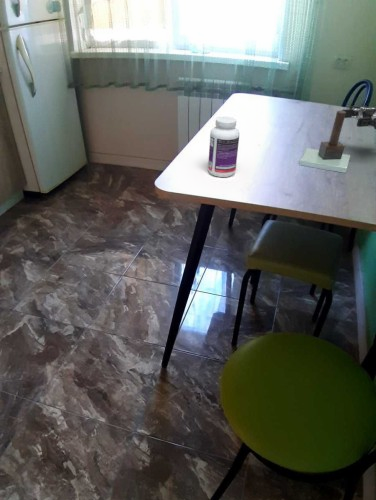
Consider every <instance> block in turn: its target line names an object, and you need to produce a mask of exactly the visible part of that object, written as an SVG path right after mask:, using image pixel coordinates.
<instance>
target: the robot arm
mask: <svg viewBox="0 0 376 500" xmlns="http://www.w3.org/2000/svg"><path fill="white" fill-rule="evenodd" d="M341 111H345V112H346V115H345V118H344V119H356V120H357V122H356V126H357V128H363V127H368V128H373V129H375V130H376V107H373V106H372V107H368V106H367V105H350V106H349V108H347V109H342V110H341Z"/></svg>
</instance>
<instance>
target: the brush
mask: <svg viewBox="0 0 376 500" xmlns="http://www.w3.org/2000/svg"><path fill="white" fill-rule="evenodd" d="M345 115H346V112H345V111H342V110H337V111H336V113H335V117H334V120H333V125H332V129H331V133H330V137H329V140H328V141H321V142H320V146H319V149H318V150H319V153H318V155H319V156H320V157H321V158H322V159H323V160H332V159H341V157H342V154H344V149H345V148H346V147H345V145H344V144H343V143H341V141H339V140H340V136H341V132H342V129H343V125H344V122H345V119H346V118H345Z"/></svg>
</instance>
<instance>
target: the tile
mask: <svg viewBox="0 0 376 500" xmlns="http://www.w3.org/2000/svg"><path fill="white" fill-rule="evenodd" d="M318 153H319V149H316V148H310V147H306V148H305V151H304V152H303V154H302V156H301V158H300V161H299V166H303V167H308V168H314V169H320V170H326V171H332V172H338V173H343V174H346V172H347V170H348V166H349V163H350V159H351V154H345V153H343V154H342V157H341V159H332V160H323V159H322V158H321V157H320V156H319V155H318Z"/></svg>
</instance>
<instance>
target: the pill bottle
mask: <svg viewBox="0 0 376 500" xmlns="http://www.w3.org/2000/svg"><path fill="white" fill-rule="evenodd" d="M236 126H237V119H236V118H234V117H231V116H218V117H216V118H215V126H214V127H212V129H211V130H210V133H209V149H208V163H207V164H208V165H207V170H208V173H209V174H210V175H212V176H215V177H218V178H228V177H231V176H233V175H234V174H235V173H236V171H237V163H238V162H237V161H238V152H239V144H240V143H239V142H240V131H239V130H238V128H237V127H236Z"/></svg>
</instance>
